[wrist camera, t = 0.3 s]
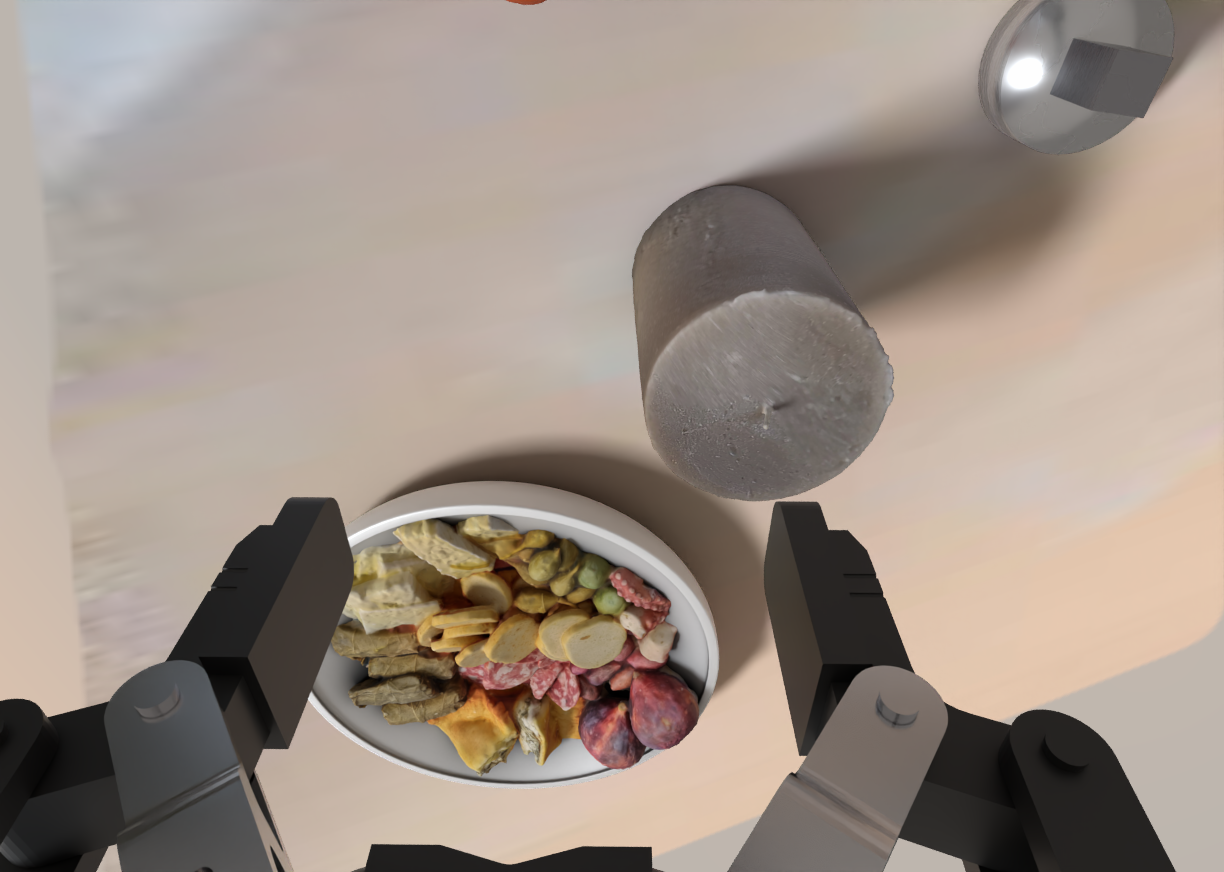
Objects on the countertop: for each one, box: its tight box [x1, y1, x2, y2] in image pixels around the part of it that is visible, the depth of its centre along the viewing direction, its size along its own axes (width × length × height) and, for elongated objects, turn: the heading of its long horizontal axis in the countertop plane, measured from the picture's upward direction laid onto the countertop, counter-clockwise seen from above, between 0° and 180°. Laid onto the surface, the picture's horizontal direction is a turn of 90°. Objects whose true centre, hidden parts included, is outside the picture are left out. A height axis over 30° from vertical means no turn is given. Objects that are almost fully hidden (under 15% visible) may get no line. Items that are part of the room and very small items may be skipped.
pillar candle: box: [632, 186, 894, 501], centre depth 34 cm, size 10×10×15 cm
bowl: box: [308, 481, 719, 789], centre depth 53 cm, size 30×30×8 cm
